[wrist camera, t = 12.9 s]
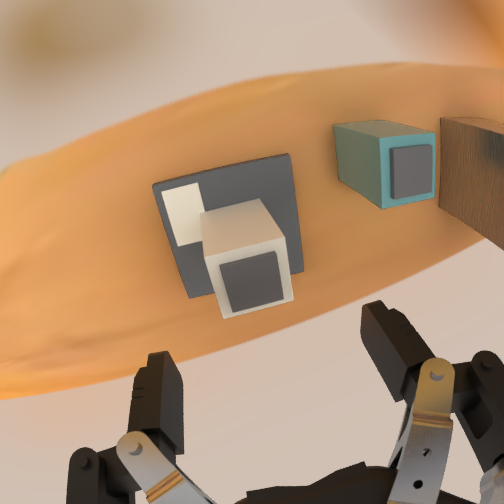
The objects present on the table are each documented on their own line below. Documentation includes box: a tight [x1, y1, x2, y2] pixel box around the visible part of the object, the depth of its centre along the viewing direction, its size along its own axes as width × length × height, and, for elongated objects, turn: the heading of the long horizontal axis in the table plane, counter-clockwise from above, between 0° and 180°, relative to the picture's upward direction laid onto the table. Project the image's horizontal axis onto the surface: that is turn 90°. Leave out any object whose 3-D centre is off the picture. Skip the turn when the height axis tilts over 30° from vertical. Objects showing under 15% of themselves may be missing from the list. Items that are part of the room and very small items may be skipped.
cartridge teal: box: [333, 120, 436, 209], centre depth 17 cm, size 4×4×6 cm
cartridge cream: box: [200, 199, 294, 319], centre depth 18 cm, size 4×4×6 cm
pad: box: [152, 153, 304, 299], centre depth 21 cm, size 9×9×1 cm
